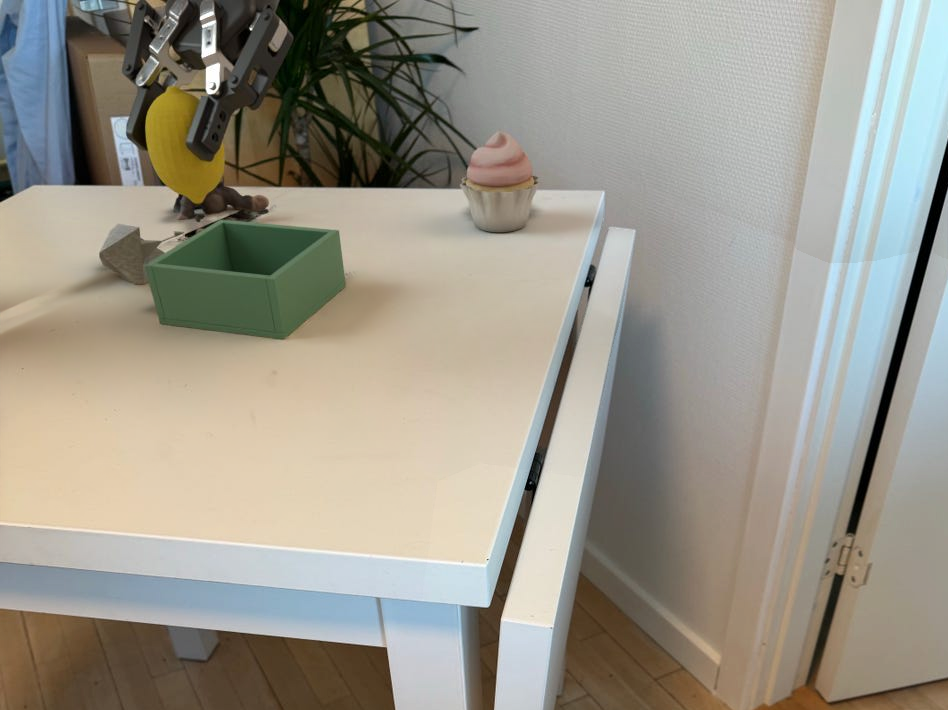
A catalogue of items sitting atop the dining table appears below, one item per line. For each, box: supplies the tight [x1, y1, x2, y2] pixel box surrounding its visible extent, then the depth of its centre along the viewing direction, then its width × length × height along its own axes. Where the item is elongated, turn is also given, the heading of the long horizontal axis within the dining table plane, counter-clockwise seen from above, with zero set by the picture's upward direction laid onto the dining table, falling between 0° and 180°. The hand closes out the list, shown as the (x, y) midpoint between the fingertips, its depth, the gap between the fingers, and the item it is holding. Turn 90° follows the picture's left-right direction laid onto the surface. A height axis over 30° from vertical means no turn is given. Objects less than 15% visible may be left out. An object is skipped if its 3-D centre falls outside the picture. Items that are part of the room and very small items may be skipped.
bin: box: [145, 219, 347, 340], centre depth 89 cm, size 14×14×6 cm
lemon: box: [145, 86, 226, 204], centre depth 68 cm, size 6×6×8 cm
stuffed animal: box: [173, 175, 270, 239], centre depth 110 cm, size 12×10×12 cm
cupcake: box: [459, 130, 541, 233], centre depth 104 cm, size 9×9×10 cm
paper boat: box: [98, 223, 185, 286], centre depth 95 cm, size 12×6×9 cm
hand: (168, 149), depth 67 cm, fingers closed on lemon, 5 cm apart
